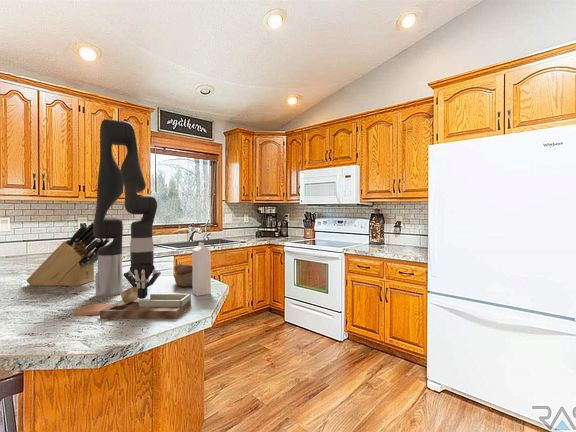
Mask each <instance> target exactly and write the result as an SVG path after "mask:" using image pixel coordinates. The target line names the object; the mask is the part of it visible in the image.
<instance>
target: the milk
mask: <svg viewBox="0 0 576 432" xmlns="http://www.w3.org/2000/svg"><path fill="white" fill-rule="evenodd" d="M191 250H192V251H191V261H192V262H191V263H192V285H193V286H192V294H193V295H195V296H196V297H199V296H205V295H211V294H212V288H211V287H212V284H211V283H212V280H211V279H212V278H211V277H212V276H211V275H212V273H211V272H212V271H211V270H212V268H211V267H212V266H211V265H212V264H211V263H212V261H211V256H212V255H211V254H212V253H211V249H209V248H207V247H205V243H204V242H200V241H199V242H198V246H196V247H194V248H193V249H191Z"/></svg>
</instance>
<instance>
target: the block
mask: <svg viewBox="0 0 576 432" xmlns="http://www.w3.org/2000/svg"><path fill="white" fill-rule="evenodd" d="M119 295H120V297H121V300H123V302H124V304H127V303H129V302H132V301H134V300H136V299H139V297H138V289H137V287H133V286H131V287H129V288H127V289H125V290H122V292H121V293H120V294H119Z"/></svg>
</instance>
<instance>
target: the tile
mask: <svg viewBox="0 0 576 432" xmlns="http://www.w3.org/2000/svg"><path fill="white" fill-rule="evenodd" d="M113 304H114V303H89V304H88V305H84V306H83V307H80V308H77V309H76V310H73V316H80V315H81V316H82V315H83V316H85V315H87V316H100V311H101V310H103V309H105V308H107V307H109V306H111V305H113Z"/></svg>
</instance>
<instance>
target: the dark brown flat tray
mask: <svg viewBox="0 0 576 432" xmlns="http://www.w3.org/2000/svg"><path fill="white" fill-rule="evenodd" d="M139 300H150V298H144V299H139V298H138V299H136V300H134V301H132V302H129V303H127V304H124V302H123V299H121V300H119V301H117V302H114V303H112V304H113V305H111V306H109V307H107V308H105V309H103V310H101V311H100V315H99V319H148V320H149V319H151V320H152V319H153V320H154V319H159V320H160V319H166V320H167V319H168V320H169V319H171V320H172V319H173V320H174V319H175V320H177V319H178V318H179V317H180V316H182V314H184V313H185V312H186V311H187V310H188V309H189V308H190V307H192V299H191V300H189V301H188V302H187V303H186V304H184V305H183V306H182V307H139Z"/></svg>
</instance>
